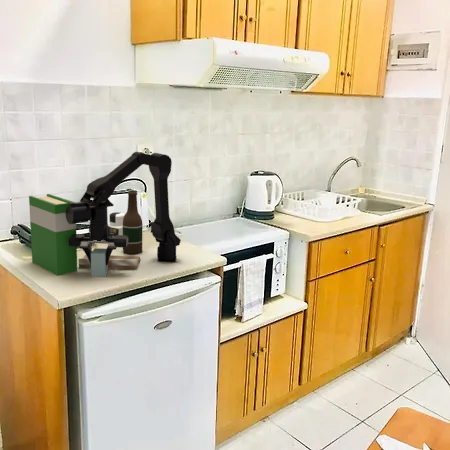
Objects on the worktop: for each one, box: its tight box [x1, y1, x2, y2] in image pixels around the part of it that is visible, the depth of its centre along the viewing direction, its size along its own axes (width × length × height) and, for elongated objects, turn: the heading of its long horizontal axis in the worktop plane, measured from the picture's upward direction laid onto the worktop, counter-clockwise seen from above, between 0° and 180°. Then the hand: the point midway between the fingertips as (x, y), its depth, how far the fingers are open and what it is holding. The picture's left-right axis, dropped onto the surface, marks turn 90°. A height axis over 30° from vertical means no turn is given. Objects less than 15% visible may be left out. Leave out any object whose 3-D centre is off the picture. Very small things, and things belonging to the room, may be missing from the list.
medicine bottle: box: [108, 212, 125, 238], centre depth 209 cm, size 7×7×12 cm
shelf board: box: [77, 254, 141, 271], centre depth 182 cm, size 20×11×4 cm, turn 93°
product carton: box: [90, 247, 109, 278], centre depth 172 cm, size 5×6×8 cm
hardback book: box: [28, 193, 78, 276], centre depth 175 cm, size 18×7×24 cm, turn 47°
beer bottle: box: [122, 190, 143, 256], centre depth 195 cm, size 8×8×24 cm
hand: (99, 265), depth 172 cm, fingers closed on product carton, 5 cm apart
